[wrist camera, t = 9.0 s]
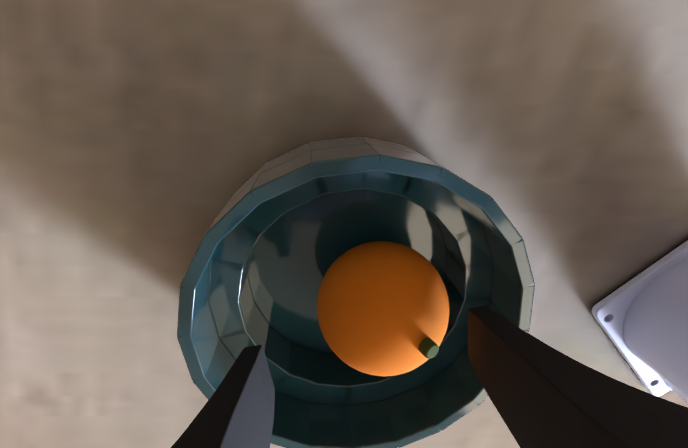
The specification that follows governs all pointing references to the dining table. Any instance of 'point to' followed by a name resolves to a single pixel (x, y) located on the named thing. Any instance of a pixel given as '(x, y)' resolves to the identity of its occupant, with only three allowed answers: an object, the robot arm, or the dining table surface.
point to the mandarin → (383, 308)
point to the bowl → (309, 270)
